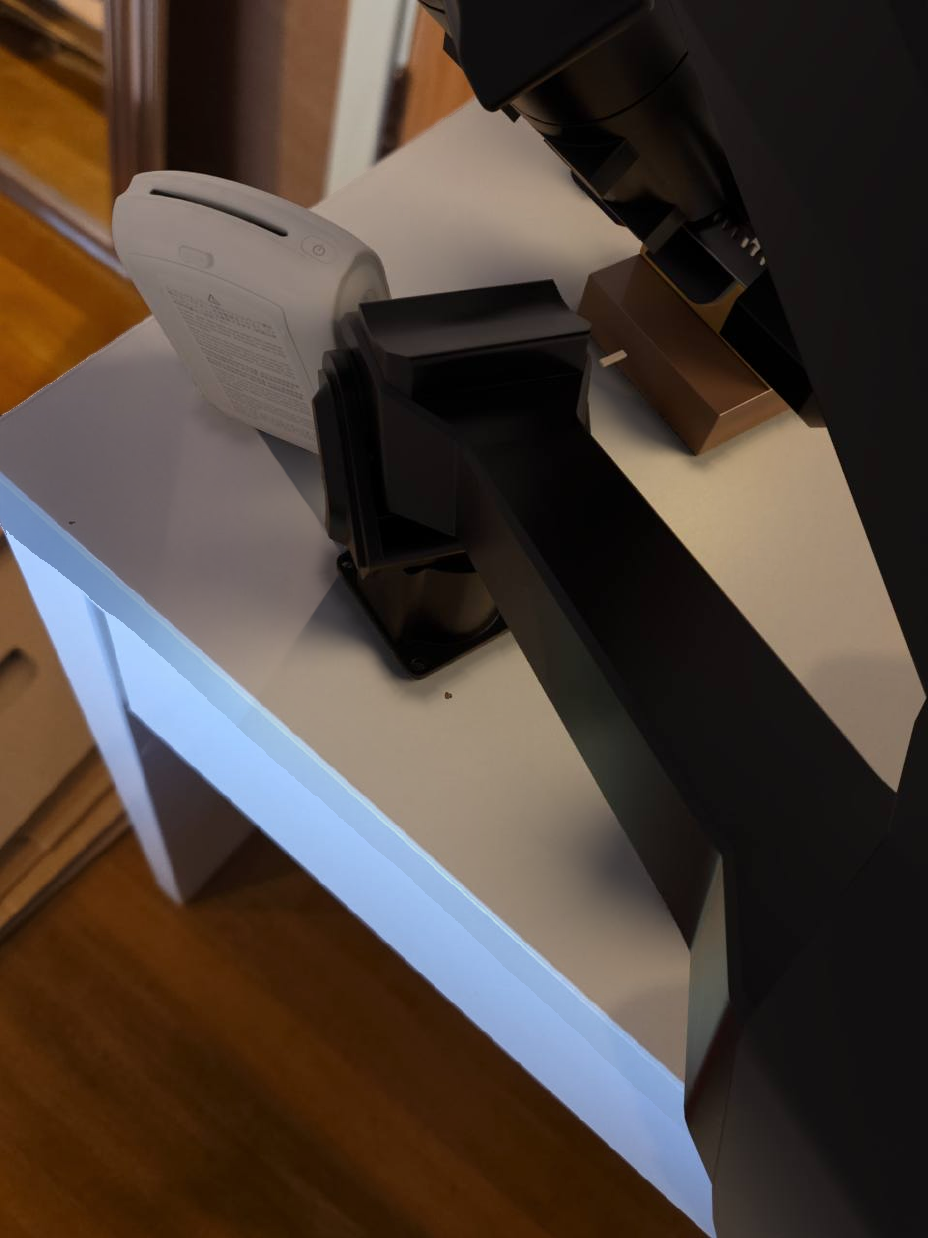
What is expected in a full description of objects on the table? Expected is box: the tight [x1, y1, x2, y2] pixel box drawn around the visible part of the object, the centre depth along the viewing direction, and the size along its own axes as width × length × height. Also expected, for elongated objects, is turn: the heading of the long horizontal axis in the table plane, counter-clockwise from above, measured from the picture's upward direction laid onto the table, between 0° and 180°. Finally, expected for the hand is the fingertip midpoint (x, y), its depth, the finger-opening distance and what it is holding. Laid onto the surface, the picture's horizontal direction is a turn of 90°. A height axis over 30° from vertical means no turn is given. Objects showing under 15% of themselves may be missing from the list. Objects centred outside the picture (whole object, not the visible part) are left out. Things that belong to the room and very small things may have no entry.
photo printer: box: [111, 170, 393, 455], centre depth 38 cm, size 10×4×12 cm, turn 62°
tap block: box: [576, 228, 791, 457], centre depth 49 cm, size 14×14×3 cm
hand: (752, 242), depth 36 cm, fingers closed
